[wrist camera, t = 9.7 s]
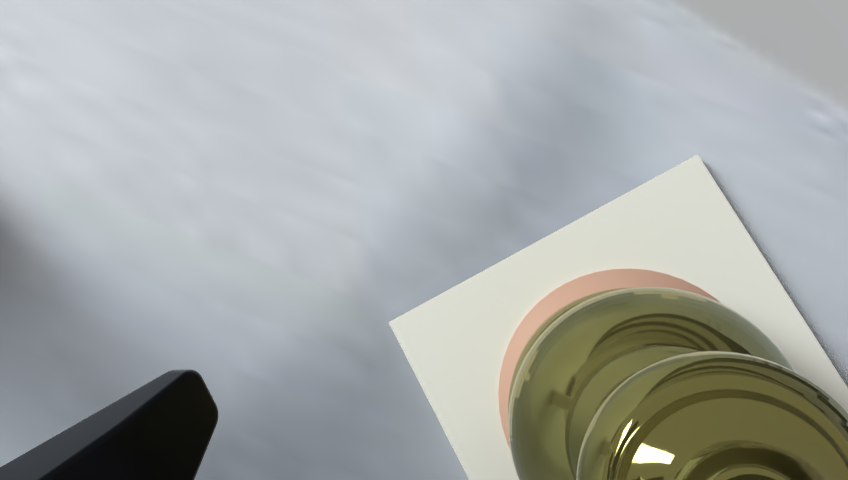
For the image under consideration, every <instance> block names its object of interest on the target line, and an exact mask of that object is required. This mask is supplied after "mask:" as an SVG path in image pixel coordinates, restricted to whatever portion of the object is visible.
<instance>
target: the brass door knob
mask: <svg viewBox="0 0 848 480" xmlns="http://www.w3.org/2000/svg"><path fill="white" fill-rule="evenodd" d="M508 435H509V444H510V451H511V456H512V460H513V464H514V467H515V471H516V474H517V476H518V479H519V480H848V413H847V412H846V411H845V410H844V409H843V408H842V407H841V405H840V404H838V403H837V402H836V401H835V400H834V399H833V398H832V397H831V396H830V395H828V394H827V393H826V392H825V391H823V390H822V389H821V388H819V387H818V386H817V385H815V384H813V383H812V382H810V381H809V380H807V379H806V378H804V377H802V376H801V375H799V374H797V373H795V371H794V369H793V367H792V366H791V364H790V363H789V361H788V360H787V358H786V357H785V356H784V354H783V353H782V352H781V350H780V349H779V348H778V347H777V346H776V345H775V343H774V342H773V341H772V340H771V339H770V338H769V337H768V336H767V335H766V334H765V333H764V332H763V331H761V330H760V329H759V328H758V327H757V326H756V325H755V324H753V323H752V322H751V321H749V320H748V319H747V318H745V317H744V316H742V315H741V314H739V313H738V312H736V311H735V310H733V309H731V308H729V307H727V306H726V305H724V304H722V303H720V302H717V301H715V300H713V299H710V298H708V297H705V296H702V295H699V294H696V293H692V292H688V291H684V290H679V289H673V288H664V287H635V288H618V289H611V290H605V291H601V292H598V293H594V294H591V295H588V296H585V297H582V298H579V299H577V300H574V301H572V302H570V303H568V304H566V305H565V306H563V307H561V308H559V309H558V310H557V311H555V312H554V313H552V314H551V315H550V316H549V317H548V318H546V319H545V320H544V321H543V322H542V323H541V324H540V325H539V326H538V327H537V328H536V330H535V331H534V332H533V333H532V335H531V336H530V338H529V339H528V340H527V342H526V344H525V345H524V347H523V349H522V351H521V353H520V355H519V358H518V360H517V363H516V366H515V369H514V373H513V377H512V381H511V385H510V391H509V399H508Z"/></svg>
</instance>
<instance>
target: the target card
mask: <svg viewBox="0 0 848 480" xmlns="http://www.w3.org/2000/svg"><path fill="white" fill-rule="evenodd" d="M635 287H664V288H673V289H679V290H684V291H688V292H692V293H696V294H699V295H702V296H705V297H708V298H710V299H713V300H715V301H717V302H720V303H722V304H724V305H726V306H727V307H729V308H731V309H733V310H735V311H736V312H738V313H739V314H741V315H742V316H744V317H745V318H747V319H748V320H749V321H751V322H752V323H753V324H755V325H756V326H757V327H758V328H759V329H760V330H761V331H763V332H764V333H765V334H766V335H767V336H768V337H769V338H770V339H771V340H772V341H773V342H774V343H775V345H776V346H777V347H778V348H779V349H780V350H781V352H782V353H783V354H784V356H785V357H786V358H787V360H788V361H789V363H790V364H791V366H792V367H793V369H794V371H795V373H797V374H799V375H801V376H802V377H804V378H806V379H807V380H809V381H810V382H812V383H813V384H815V385H817V386H818V387H819V388H821V389H822V390H823V391H825V392H826V393H827V394H828V395H830V396H831V397H832V398H833V399H834V400H835V401H836V402H837V403H838V404H840V405H841V407H842V408H843V409H844V410H845V411H846V412H847V413H848V387H847V386H846V384H845V383H844V381H843V380H842V378H841V376H840V375H839V373H838V372H837V370H836V369H835V367H834V366H833V364H832V362H831V361H830V359H829V358H828V356H827V355H826V353H825V352H824V350H823V348H822V347H821V345H820V344H819V342H818V341H817V339H816V338H815V336H814V334H813V333H812V331H811V330H810V328H809V327H808V325H807V324H806V322H805V320H804V319H803V317H802V316H801V314H800V313H799V311H798V310H797V308H796V306H795V305H794V303H793V302H792V300H791V299H790V297H789V296H788V294H787V292H786V291H785V289H784V288H783V286H782V285H781V283H780V282H779V280H778V278H777V277H776V275H775V274H774V272H773V271H772V269H771V268H770V266H769V264H768V263H767V261H766V260H765V258H764V257H763V255H762V254H761V252H760V250H759V249H758V247H757V246H756V244H755V243H754V241H753V240H752V238H751V236H750V235H749V233H748V232H747V230H746V229H745V227H744V226H743V224H742V222H741V221H740V219H739V218H738V216H737V215H736V213H735V212H734V210H733V208H732V207H731V205H730V204H729V202H728V201H727V199H726V198H725V196H724V194H723V193H722V191H721V190H720V188H719V187H718V185H717V184H716V182H715V180H714V179H713V177H712V176H711V174H710V173H709V171H708V170H707V168H706V166H705V165H704V163H703V162H702V160H701V159H700V157H699V156H698V154H697V155H695V156H694V157H692V158H690V159H688V160H686V161H684V162H683V163H681V164H679V165H677V166H675V167H673V168H672V169H670V170H668V171H666V172H664V173H662V174H661V175H659V176H657V177H655V178H653V179H651V180H649V181H648V182H646V183H644V184H642V185H640V186H638V187H637V188H635V189H633V190H631V191H629V192H627V193H626V194H624V195H622V196H620V197H618V198H616V199H615V200H613V201H611V202H609V203H607V204H605V205H603V206H602V207H600V208H598V209H596V210H594V211H592V212H591V213H589V214H587V215H585V216H583V217H581V218H580V219H578V220H576V221H574V222H572V223H570V224H569V225H567V226H565V227H563V228H561V229H559V230H558V231H556V232H554V233H552V234H550V235H548V236H546V237H545V238H543V239H541V240H539V241H537V242H535V243H534V244H532V245H530V246H528V247H526V248H524V249H523V250H521V251H519V252H517V253H515V254H513V255H512V256H510V257H508V258H506V259H504V260H502V261H500V262H499V263H497V264H495V265H493V266H491V267H489V268H488V269H486V270H484V271H482V272H480V273H478V274H477V275H475V276H473V277H471V278H469V279H467V280H466V281H464V282H462V283H460V284H458V285H456V286H454V287H453V288H451V289H449V290H447V291H445V292H443V293H442V294H440V295H438V296H436V297H434V298H432V299H431V300H429V301H427V302H425V303H423V304H421V305H420V306H418V307H416V308H414V309H412V310H410V311H409V312H407V313H405V314H403V315H401V316H399V317H397V318H396V319H394V320H392V321H390V322H389V324H390V326H391V328H392V330H393V332H394V334H395V336H396V338H397V340H398V342H399V344H400V346H401V348H402V349H403V351H404V353H405V355H406V357H407V359H408V361H409V363H410V365H411V367H412V369H413V371H414V373H415V375H416V377H417V379H418V381H419V383H420V385H421V387H422V388H423V390H424V392H425V394H426V396H427V398H428V400H429V402H430V404H431V406H432V408H433V410H434V412H435V414H436V416H437V418H438V420H439V422H440V424H441V426H442V428H443V429H444V431H445V433H446V435H447V437H448V439H449V441H450V443H451V445H452V447H453V449H454V451H455V453H456V455H457V457H458V459H459V461H460V463H461V465H462V467H463V469H464V470H465V472H466V474H467V476H468V478H469V480H519V479H518V476H517V474H516V471H515V467H514V464H513V460H512V456H511V451H510V444H509V435H508V399H509V391H510V385H511V381H512V377H513V373H514V369H515V366H516V363H517V360H518V358H519V355H520V353H521V351H522V349H523V347H524V345H525V344H526V342H527V340H528V339H529V338H530V336H531V335H532V333H533V332H534V331H535V330H536V328H537V327H538V326H539V325H540V324H541V323H542V322H543V321H544V320H545V319H546V318H548V317H549V316H550V315H551V314H552V313H554V312H555V311H557V310H558V309H559V308H561V307H563V306H565V305H566V304H568V303H570V302H572V301H574V300H577V299H579V298H582V297H585V296H588V295H591V294H594V293H598V292H601V291H605V290H611V289H618V288H635Z"/></svg>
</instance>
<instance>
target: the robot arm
mask: <svg viewBox="0 0 848 480" xmlns="http://www.w3.org/2000/svg"><path fill="white" fill-rule="evenodd" d="M217 421H218V409H217V406H216V404H215V402H214V400H213V398H212V396H211V394H210V392H209V390H208V388H207V386H206V384H205V382H204V380H203V379H202V377H201V375H200V374H199V373H198V372H196V371H194V370H172V371H169V372H167V373H165V374H163V375H161V376H160V377H158V378H156V379H154V380H153V381H151V382H149V383H147V384H146V385H144V386H142V387H140V388H139V389H137V390H135V391H133V392H132V393H130V394H128V395H126V396H125V397H123V398H121V399H119V400H118V401H116V402H114V403H112V404H111V405H109V406H107V407H105V408H104V409H102V410H100V411H98V412H97V413H95V414H93V415H91V416H90V417H88V418H86V419H84V420H83V421H81V422H79V423H77V424H76V425H74V426H72V427H70V428H69V429H67V430H65V431H63V432H62V433H60V434H58V435H56V436H55V437H53V438H51V439H49V440H48V441H46V442H44V443H42V444H41V445H39V446H37V447H35V448H34V449H32V450H30V451H28V452H27V453H25V454H23V455H21V456H20V457H18V458H16V459H14V460H13V461H11V462H9V463H7V464H6V465H4V466H2V467H0V480H194V478H195V476H196V474H197V471H198V469H199V466H200V464H201V461H202V459H203V456H204V454H205V451H206V449H207V447H208V444H209V442H210V439H211V437H212V434H213V432H214V429H215V427H216V424H217Z"/></svg>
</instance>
